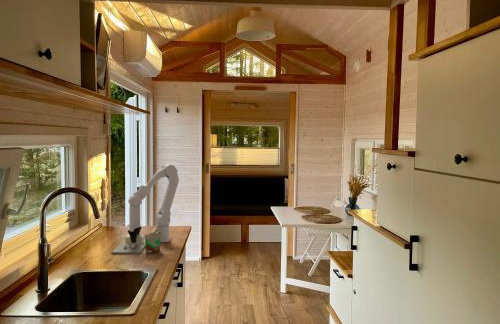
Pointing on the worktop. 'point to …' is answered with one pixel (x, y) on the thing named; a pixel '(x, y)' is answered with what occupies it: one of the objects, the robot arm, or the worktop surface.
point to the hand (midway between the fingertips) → (134, 241)
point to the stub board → (128, 249)
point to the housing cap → (138, 240)
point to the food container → (153, 242)
